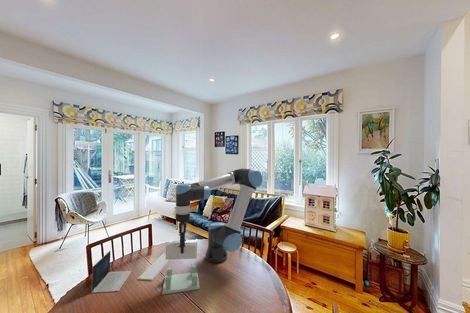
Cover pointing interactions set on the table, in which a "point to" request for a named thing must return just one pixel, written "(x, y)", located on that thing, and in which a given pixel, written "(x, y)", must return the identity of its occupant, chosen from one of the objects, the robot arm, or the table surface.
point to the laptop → (107, 276)
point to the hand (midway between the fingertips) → (182, 256)
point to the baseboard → (154, 268)
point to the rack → (181, 281)
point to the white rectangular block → (174, 250)
